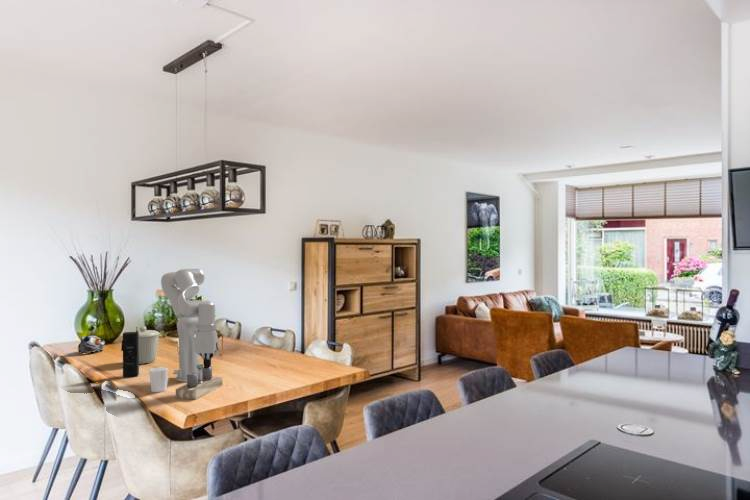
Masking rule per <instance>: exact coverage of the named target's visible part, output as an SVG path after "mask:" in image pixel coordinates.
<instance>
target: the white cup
mask: <svg viewBox="0 0 750 500" xmlns="http://www.w3.org/2000/svg"><path fill="white" fill-rule="evenodd" d="M168 378H169V368H168V367H166V366H159V367H158V366H157V367H153V368H150V369H149V381H150V391H151V392H152V393H163V392H165V391H167V389H168V381H169V379H168Z"/></svg>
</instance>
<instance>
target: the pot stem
mask: <svg viewBox="0 0 750 500" xmlns="http://www.w3.org/2000/svg"><path fill="white" fill-rule="evenodd" d="M203 367H204V364H200V363H199V365H197V368H198V384H202V383H203V381H202V368H203Z"/></svg>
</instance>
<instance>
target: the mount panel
mask: <svg viewBox="0 0 750 500" xmlns="http://www.w3.org/2000/svg"><path fill="white" fill-rule="evenodd" d="M202 381H203V383H202V384H198V385H197V386H195V387H194V388H191V387H187V383H185V384H184V385H181V386H179V387H177V388H175V399H180V400H181V399H182V400H183V399H184V400H198V399H200V398H202V397H204V396H205V395H208V394H209V393H212V392H213V391H215V390H216V389H218V388H220V387H223V377H222V376H212V378H211V379H209V380H205V379H202Z"/></svg>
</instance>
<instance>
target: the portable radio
mask: <svg viewBox="0 0 750 500" xmlns="http://www.w3.org/2000/svg"><path fill="white" fill-rule="evenodd" d="M135 331H136V332H134V331H124V332H123V333H122V340H121V350H120V351H121V352H122V377H123V378H134V377H135V376H136V377H138V376H139V375H140V364H139V332H138V331H139V330H138V327H136V330H135Z"/></svg>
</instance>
